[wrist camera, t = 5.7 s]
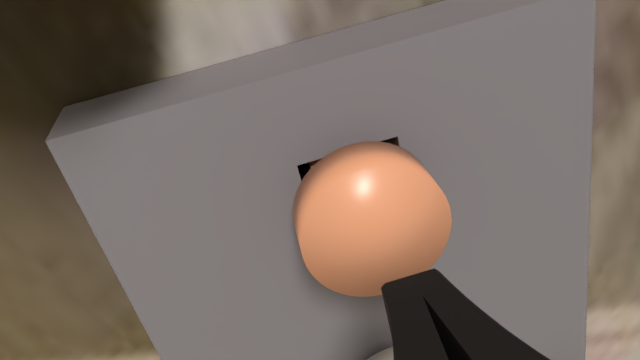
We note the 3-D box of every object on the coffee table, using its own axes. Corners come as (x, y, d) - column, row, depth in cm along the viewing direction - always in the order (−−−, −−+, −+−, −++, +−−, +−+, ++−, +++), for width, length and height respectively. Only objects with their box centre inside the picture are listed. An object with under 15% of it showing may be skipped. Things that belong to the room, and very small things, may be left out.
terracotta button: (397, 94, 19) (443, 147, 15) (415, 204, 21) (458, 271, 17) (267, 132, 18) (283, 193, 15) (299, 238, 21) (320, 314, 17)
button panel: (550, -29, 18) (596, -15, 16) (554, 350, 28) (584, 391, 26) (63, 107, 18) (45, 140, 16) (234, 451, 27) (237, 502, 25)
